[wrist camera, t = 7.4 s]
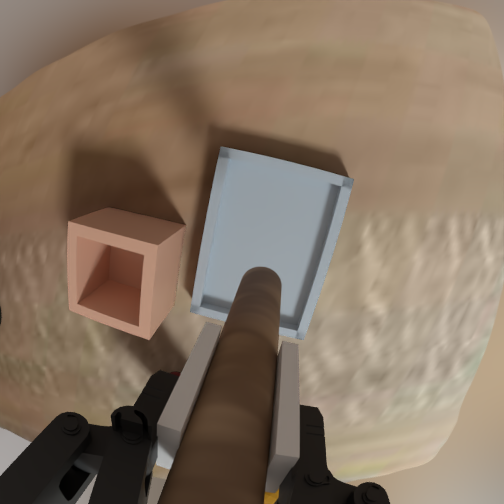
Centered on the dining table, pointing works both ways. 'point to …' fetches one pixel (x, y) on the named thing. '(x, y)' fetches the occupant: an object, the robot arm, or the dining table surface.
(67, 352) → the dining table surface
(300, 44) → the dining table surface
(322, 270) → the tray
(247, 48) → the dining table surface
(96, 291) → the pink open square box
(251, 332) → the dowel
